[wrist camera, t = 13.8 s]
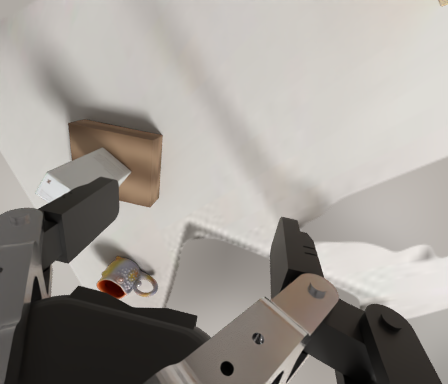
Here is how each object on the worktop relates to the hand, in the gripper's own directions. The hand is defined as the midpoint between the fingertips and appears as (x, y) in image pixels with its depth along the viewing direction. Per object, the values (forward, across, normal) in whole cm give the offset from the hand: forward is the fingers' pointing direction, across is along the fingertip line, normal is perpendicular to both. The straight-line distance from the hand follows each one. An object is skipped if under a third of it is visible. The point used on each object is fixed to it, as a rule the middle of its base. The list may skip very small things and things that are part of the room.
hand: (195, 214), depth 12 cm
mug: (+30, +17, +37) cm, 51 cm away
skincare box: (+26, +20, +11) cm, 35 cm away
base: (+30, +20, +11) cm, 38 cm away
